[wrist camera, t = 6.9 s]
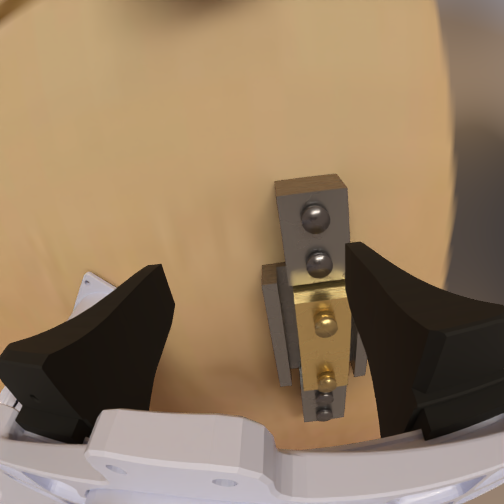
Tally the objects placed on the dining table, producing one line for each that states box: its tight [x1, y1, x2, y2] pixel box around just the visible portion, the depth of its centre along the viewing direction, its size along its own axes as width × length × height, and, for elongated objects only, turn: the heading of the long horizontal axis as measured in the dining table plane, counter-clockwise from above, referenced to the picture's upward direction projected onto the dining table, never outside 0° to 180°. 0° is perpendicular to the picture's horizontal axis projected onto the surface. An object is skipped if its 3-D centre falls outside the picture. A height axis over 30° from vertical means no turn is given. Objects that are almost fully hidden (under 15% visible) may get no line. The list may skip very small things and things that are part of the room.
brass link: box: [293, 279, 351, 393], centre depth 22 cm, size 9×4×5 cm, turn 10°
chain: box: [262, 174, 367, 422], centre depth 24 cm, size 23×8×4 cm, turn 10°
